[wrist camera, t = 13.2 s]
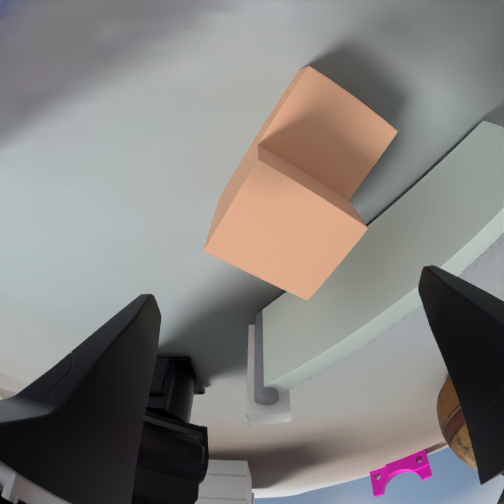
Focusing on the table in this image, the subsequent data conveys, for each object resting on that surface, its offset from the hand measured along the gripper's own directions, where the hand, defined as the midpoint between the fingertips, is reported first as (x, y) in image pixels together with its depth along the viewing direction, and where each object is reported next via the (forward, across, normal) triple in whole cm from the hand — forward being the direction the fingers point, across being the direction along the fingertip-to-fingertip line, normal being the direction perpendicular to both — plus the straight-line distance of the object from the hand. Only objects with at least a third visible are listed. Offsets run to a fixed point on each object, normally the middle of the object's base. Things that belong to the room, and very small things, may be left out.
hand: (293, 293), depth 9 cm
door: (+12, +2, +11) cm, 16 cm away
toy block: (+13, -27, +70) cm, 76 cm away
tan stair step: (+12, -2, -1) cm, 12 cm away
